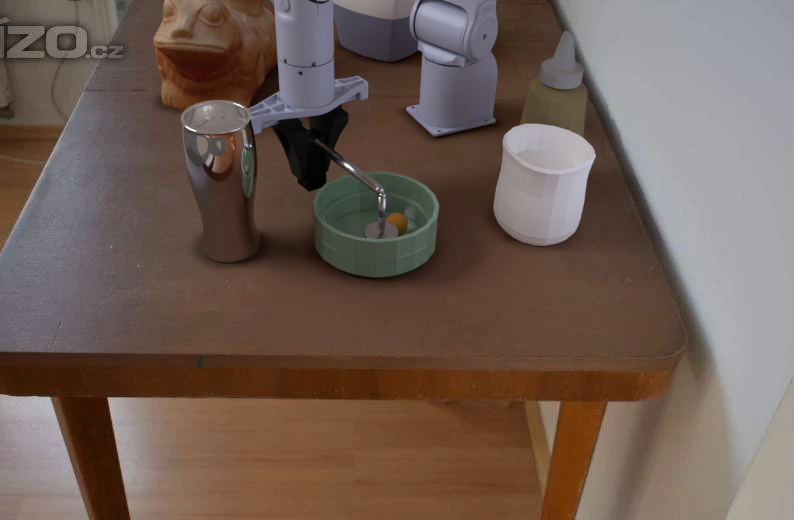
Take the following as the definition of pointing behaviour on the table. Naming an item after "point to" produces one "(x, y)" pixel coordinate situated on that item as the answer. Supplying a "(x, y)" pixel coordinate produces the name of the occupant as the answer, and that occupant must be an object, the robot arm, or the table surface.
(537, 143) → the cup
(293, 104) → the robot arm
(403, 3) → the grey and white container
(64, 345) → the table surface
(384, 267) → the soup bowl
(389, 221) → the orange ball
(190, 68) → the frog figurine
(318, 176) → the ladle
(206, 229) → the beer glass
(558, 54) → the squeeze bottle
